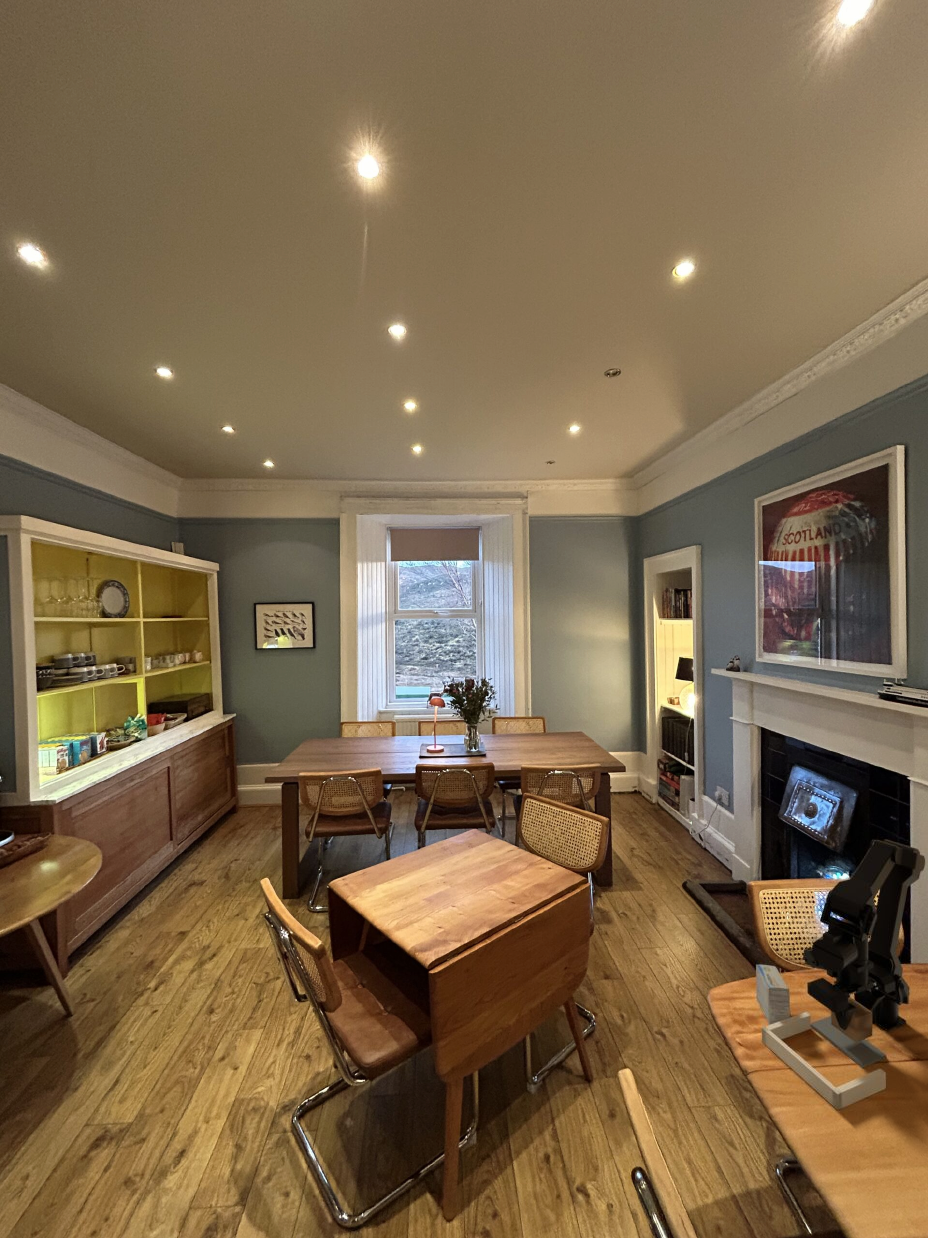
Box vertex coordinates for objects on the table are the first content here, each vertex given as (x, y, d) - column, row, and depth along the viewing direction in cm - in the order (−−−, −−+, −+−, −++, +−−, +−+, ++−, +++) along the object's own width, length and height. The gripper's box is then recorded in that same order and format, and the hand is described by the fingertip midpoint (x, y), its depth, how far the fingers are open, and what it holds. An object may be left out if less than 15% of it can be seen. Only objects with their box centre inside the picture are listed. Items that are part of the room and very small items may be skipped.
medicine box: (790, 1029, 113) (790, 990, 112) (768, 1026, 113) (768, 987, 113) (776, 1002, 120) (776, 965, 120) (755, 999, 121) (755, 963, 121)
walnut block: (847, 1018, 111) (847, 995, 111) (872, 1036, 106) (872, 1012, 106) (831, 1024, 109) (831, 1001, 109) (855, 1043, 105) (855, 1019, 105)
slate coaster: (832, 1018, 115) (832, 1015, 115) (886, 1058, 105) (886, 1055, 105) (810, 1026, 113) (810, 1023, 113) (862, 1068, 103) (862, 1065, 103)
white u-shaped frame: (806, 1025, 113) (806, 1012, 113) (885, 1088, 98) (885, 1073, 98) (761, 1041, 109) (761, 1028, 109) (837, 1110, 94) (837, 1094, 94)
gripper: (842, 921, 118) (843, 987, 119) (783, 939, 112) (783, 1009, 112) (896, 950, 108) (897, 1024, 108) (834, 972, 102) (835, 1050, 102)
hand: (851, 1025), depth 108 cm, fingers closed on walnut block, 5 cm apart
